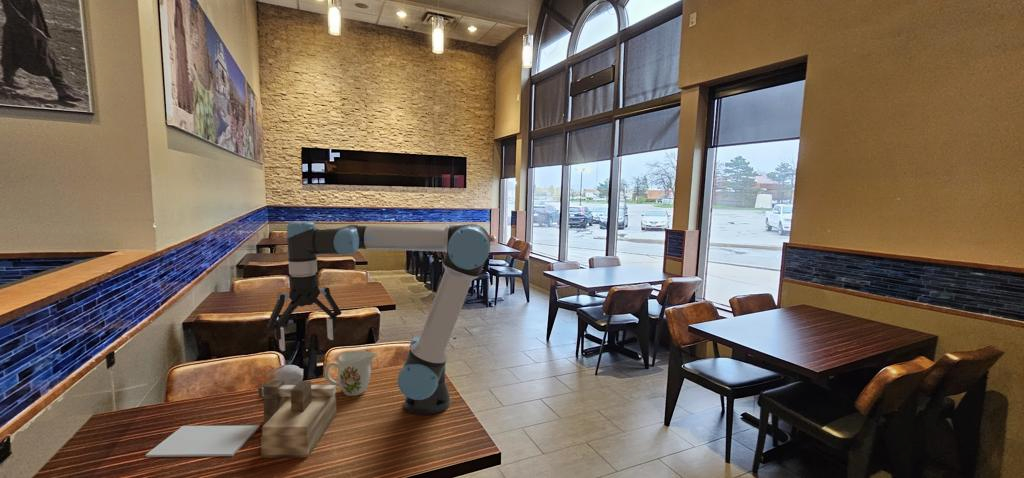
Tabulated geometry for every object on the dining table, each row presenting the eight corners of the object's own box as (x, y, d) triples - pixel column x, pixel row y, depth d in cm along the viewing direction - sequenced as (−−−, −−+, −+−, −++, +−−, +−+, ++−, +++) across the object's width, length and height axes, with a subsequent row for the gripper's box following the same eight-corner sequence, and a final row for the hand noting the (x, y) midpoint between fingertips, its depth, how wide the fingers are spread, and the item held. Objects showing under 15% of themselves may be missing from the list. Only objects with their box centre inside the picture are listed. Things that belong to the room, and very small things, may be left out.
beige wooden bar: (336, 393, 133) (336, 383, 132) (332, 398, 129) (332, 388, 129) (264, 393, 131) (263, 383, 131) (258, 398, 128) (258, 388, 128)
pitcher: (330, 385, 156) (329, 349, 155) (380, 384, 158) (380, 348, 157) (320, 399, 145) (319, 361, 144) (374, 398, 147) (374, 360, 146)
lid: (334, 397, 135) (334, 370, 134) (307, 435, 114) (306, 403, 113) (297, 397, 134) (296, 370, 133) (262, 435, 113) (261, 403, 112)
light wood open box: (336, 414, 136) (335, 377, 135) (307, 457, 114) (307, 413, 113) (274, 415, 135) (273, 377, 133) (234, 458, 113) (232, 413, 111)
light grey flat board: (259, 427, 128) (259, 425, 127) (232, 456, 114) (232, 453, 114) (182, 427, 126) (182, 425, 126) (145, 456, 112) (145, 454, 112)
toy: (277, 393, 158) (267, 403, 144) (267, 371, 158) (257, 379, 144) (313, 376, 162) (307, 384, 148) (304, 354, 162) (297, 361, 148)
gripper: (341, 267, 136) (343, 331, 139) (252, 278, 120) (257, 351, 122) (350, 270, 131) (353, 337, 133) (258, 282, 114) (263, 358, 116)
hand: (307, 344), depth 128 cm, fingers open, 13 cm apart
